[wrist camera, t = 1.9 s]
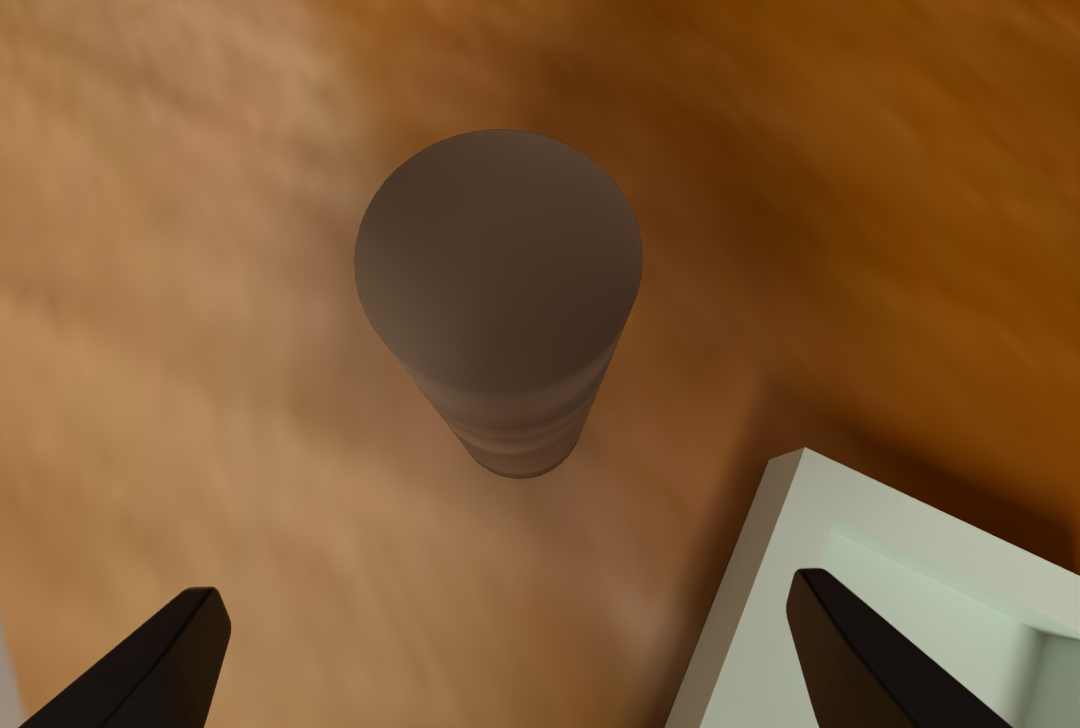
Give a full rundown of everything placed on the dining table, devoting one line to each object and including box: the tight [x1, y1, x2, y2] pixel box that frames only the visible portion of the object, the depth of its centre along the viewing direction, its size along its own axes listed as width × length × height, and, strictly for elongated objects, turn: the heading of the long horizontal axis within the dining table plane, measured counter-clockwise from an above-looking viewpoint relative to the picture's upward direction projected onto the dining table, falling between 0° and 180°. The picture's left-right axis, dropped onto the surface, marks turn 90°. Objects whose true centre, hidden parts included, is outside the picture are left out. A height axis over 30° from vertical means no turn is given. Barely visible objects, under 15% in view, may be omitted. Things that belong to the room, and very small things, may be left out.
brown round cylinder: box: [354, 129, 642, 479], centre depth 16 cm, size 4×4×13 cm
